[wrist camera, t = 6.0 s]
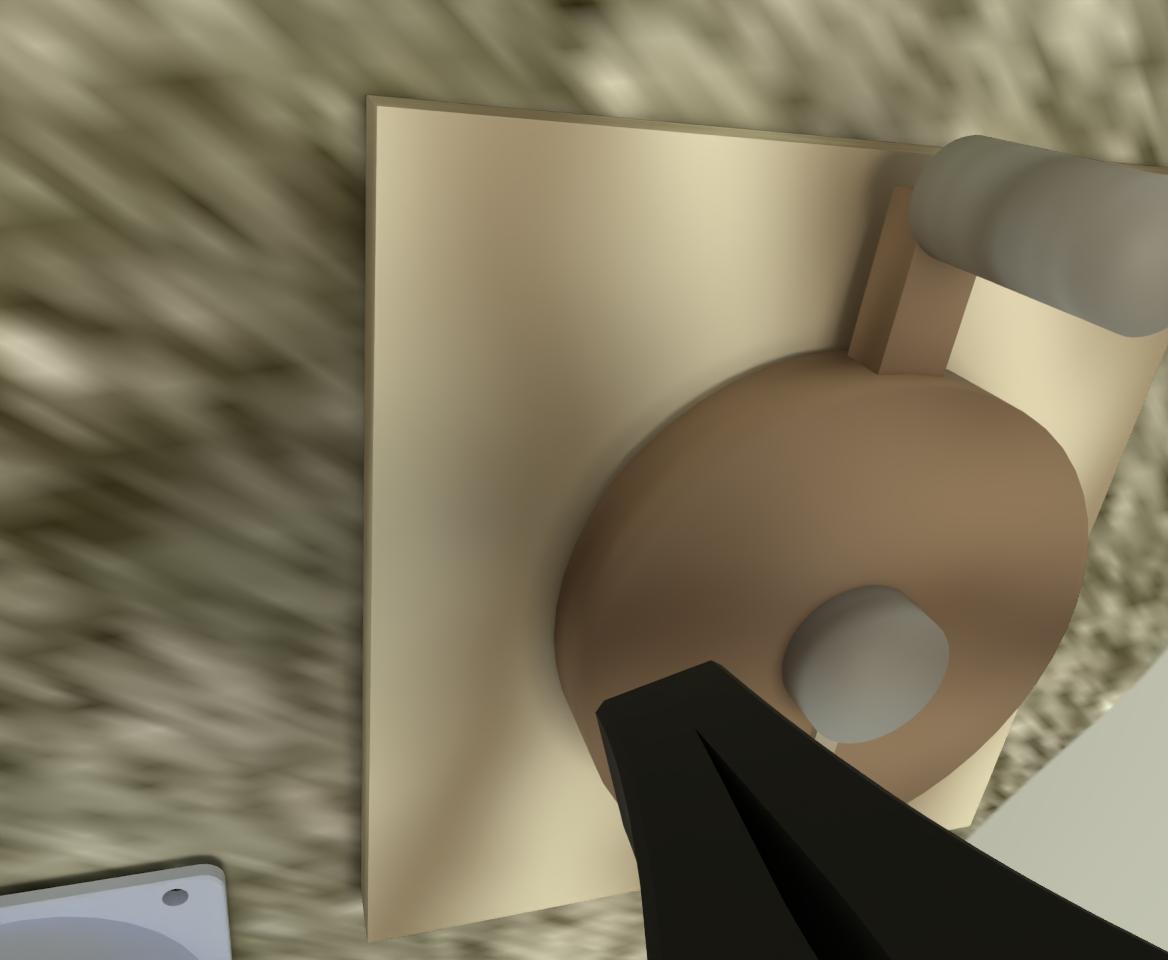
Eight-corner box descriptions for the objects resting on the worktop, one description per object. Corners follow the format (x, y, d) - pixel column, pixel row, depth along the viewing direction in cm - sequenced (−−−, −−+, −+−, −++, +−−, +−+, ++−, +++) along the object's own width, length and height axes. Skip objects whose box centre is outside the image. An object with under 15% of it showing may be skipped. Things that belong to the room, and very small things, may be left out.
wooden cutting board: (361, 889, 22) (368, 948, 21) (366, 94, 15) (378, 107, 13) (937, 787, 28) (973, 828, 27) (1172, 167, 20) (1240, 181, 19)
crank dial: (932, 758, 24) (1081, 930, 20) (524, 814, 20) (597, 1041, 16) (1171, 158, 18) (1475, 218, 13) (637, 83, 14) (812, 131, 10)
